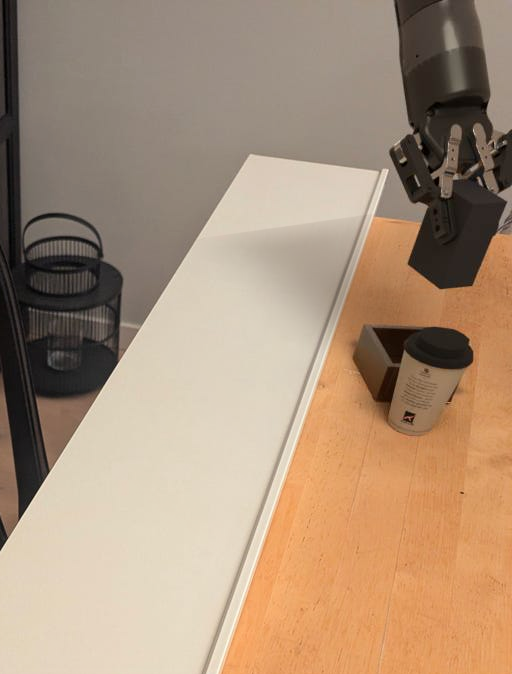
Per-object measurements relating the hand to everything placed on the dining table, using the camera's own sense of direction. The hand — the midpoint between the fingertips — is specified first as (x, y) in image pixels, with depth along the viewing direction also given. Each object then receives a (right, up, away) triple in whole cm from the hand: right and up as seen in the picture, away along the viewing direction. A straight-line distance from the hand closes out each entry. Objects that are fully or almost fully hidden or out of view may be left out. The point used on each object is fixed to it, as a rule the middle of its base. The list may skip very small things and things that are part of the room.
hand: (467, 239), depth 91 cm
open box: (-1, -10, +14) cm, 17 cm away
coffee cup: (-3, -17, +8) cm, 19 cm away
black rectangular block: (-1, -2, +5) cm, 5 cm away
